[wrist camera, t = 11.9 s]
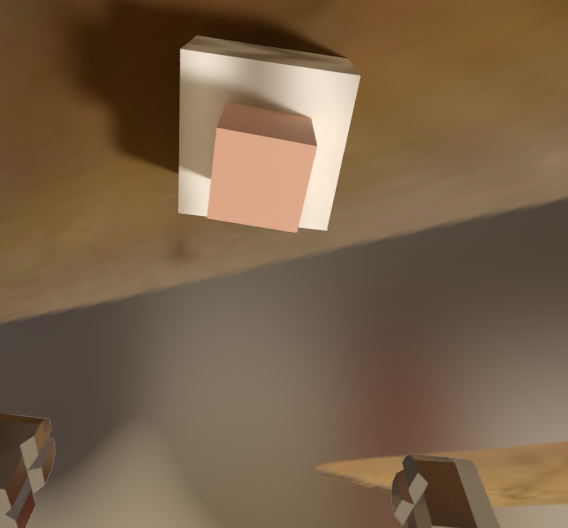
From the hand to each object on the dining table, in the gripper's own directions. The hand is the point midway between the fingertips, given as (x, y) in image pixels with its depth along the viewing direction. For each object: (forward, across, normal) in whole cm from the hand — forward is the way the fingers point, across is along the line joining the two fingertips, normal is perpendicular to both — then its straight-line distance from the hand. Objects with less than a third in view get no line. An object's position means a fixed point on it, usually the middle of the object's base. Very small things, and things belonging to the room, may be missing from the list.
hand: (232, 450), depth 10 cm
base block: (+26, 0, 0) cm, 27 cm away
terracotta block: (+20, 0, 0) cm, 21 cm away
